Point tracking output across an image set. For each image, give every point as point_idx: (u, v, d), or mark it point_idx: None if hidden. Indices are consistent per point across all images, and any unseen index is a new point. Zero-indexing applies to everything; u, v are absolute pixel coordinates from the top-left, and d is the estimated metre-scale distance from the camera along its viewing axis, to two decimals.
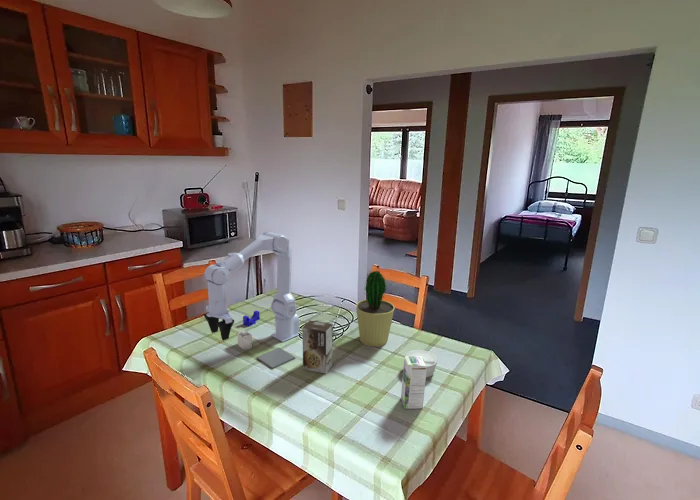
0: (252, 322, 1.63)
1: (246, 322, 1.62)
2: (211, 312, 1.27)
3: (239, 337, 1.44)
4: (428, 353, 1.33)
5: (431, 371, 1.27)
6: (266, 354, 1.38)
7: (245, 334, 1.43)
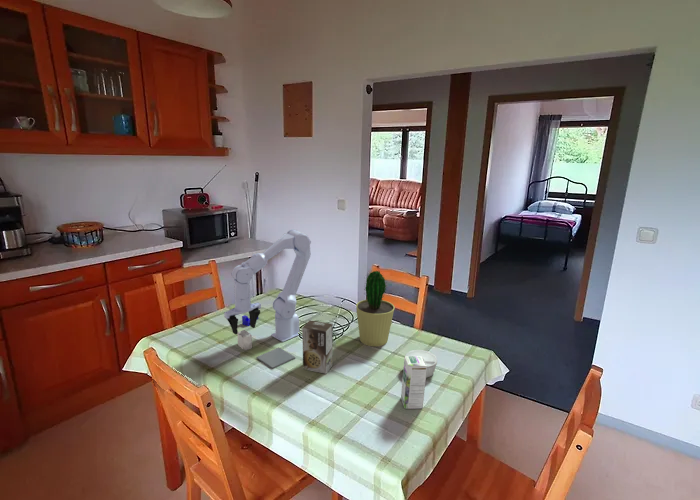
0: None
1: (245, 322, 1.62)
2: None
3: (239, 337, 1.44)
4: (428, 353, 1.33)
5: (431, 371, 1.27)
6: (266, 354, 1.38)
7: (245, 334, 1.43)
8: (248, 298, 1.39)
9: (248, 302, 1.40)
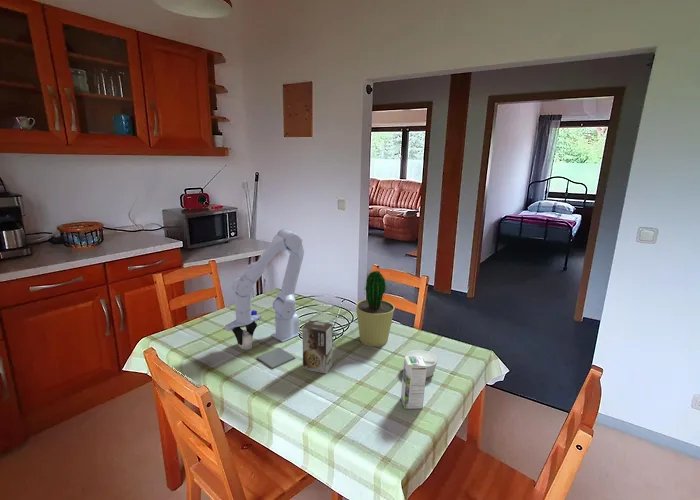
0: None
1: None
2: None
3: None
4: (428, 353, 1.33)
5: (431, 371, 1.27)
6: (266, 354, 1.38)
7: (245, 334, 1.43)
8: (249, 310, 1.41)
9: (249, 314, 1.41)
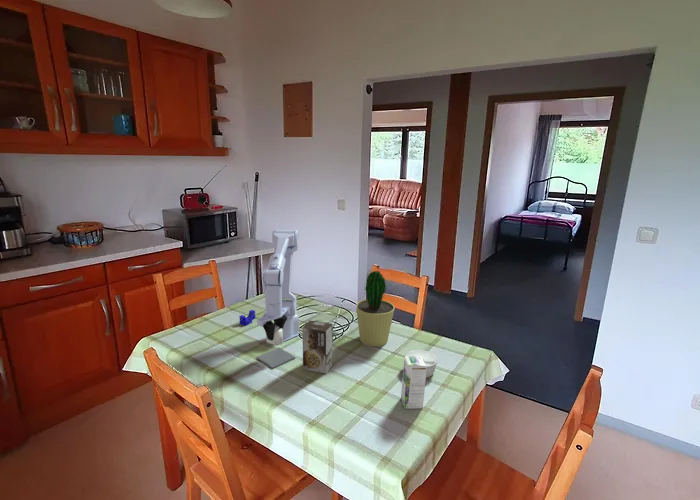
0: (249, 321, 1.64)
1: (243, 321, 1.62)
2: None
3: None
4: (428, 353, 1.33)
5: (431, 371, 1.27)
6: (266, 354, 1.38)
7: (276, 328, 1.33)
8: (281, 303, 1.31)
9: (281, 307, 1.31)
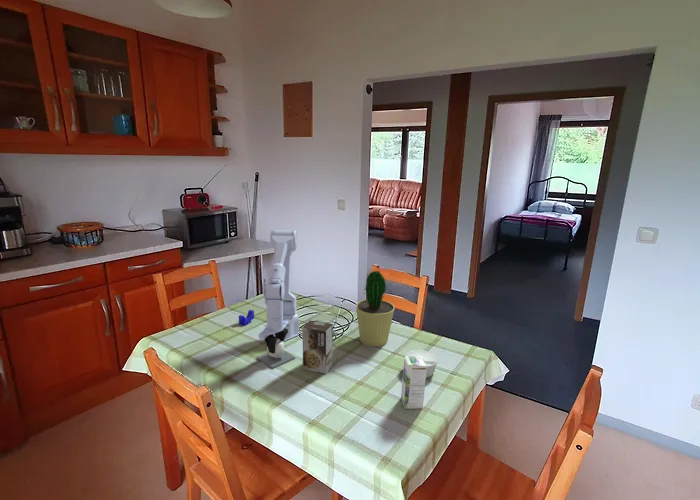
0: (248, 321, 1.64)
1: (242, 321, 1.63)
2: None
3: None
4: (428, 353, 1.33)
5: (431, 371, 1.27)
6: (266, 354, 1.38)
7: (277, 341, 1.34)
8: (282, 316, 1.32)
9: (282, 320, 1.33)
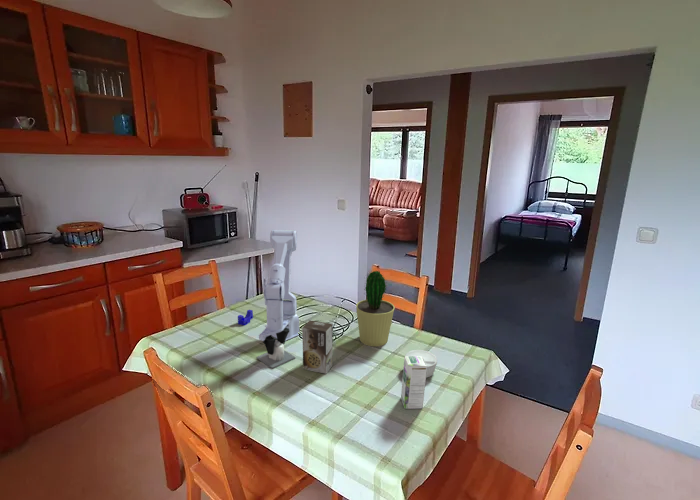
0: (247, 321, 1.64)
1: (241, 321, 1.63)
2: None
3: None
4: (428, 353, 1.33)
5: (431, 371, 1.27)
6: (266, 354, 1.38)
7: (277, 344, 1.35)
8: (282, 316, 1.32)
9: (282, 321, 1.33)
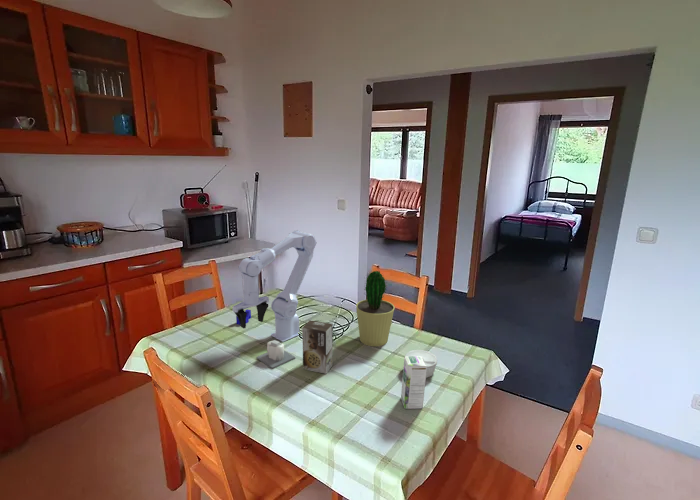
0: (246, 321, 1.64)
1: None
2: None
3: (270, 348, 1.35)
4: (428, 353, 1.33)
5: (431, 371, 1.27)
6: (266, 354, 1.38)
7: (277, 344, 1.35)
8: (256, 291, 1.37)
9: (256, 295, 1.38)
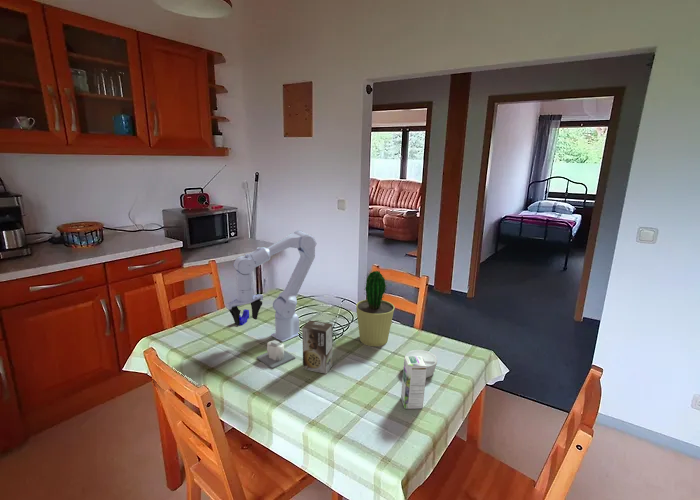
0: (244, 321, 1.64)
1: None
2: None
3: (270, 348, 1.35)
4: (428, 353, 1.33)
5: (431, 371, 1.27)
6: (266, 354, 1.38)
7: (277, 344, 1.35)
8: (250, 289, 1.39)
9: (250, 293, 1.39)
